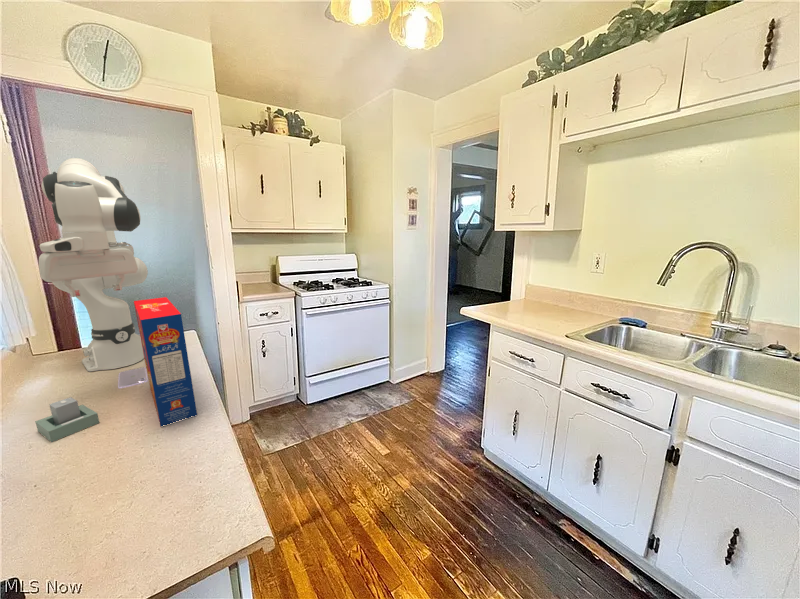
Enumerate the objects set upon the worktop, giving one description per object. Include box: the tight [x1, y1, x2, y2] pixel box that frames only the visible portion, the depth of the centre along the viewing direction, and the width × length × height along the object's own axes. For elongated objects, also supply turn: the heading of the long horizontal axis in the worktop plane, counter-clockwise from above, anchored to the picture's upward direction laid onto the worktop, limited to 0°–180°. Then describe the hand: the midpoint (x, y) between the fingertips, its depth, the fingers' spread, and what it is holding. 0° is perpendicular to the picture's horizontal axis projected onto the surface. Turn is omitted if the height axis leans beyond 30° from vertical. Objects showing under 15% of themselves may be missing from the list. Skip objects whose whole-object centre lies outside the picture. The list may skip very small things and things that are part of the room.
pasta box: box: [133, 296, 198, 427], centre depth 94 cm, size 28×8×28 cm, turn 41°
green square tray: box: [35, 404, 100, 443], centre depth 84 cm, size 9×9×3 cm
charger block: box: [49, 396, 81, 426], centre depth 84 cm, size 4×4×6 cm
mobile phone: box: [117, 366, 149, 389], centre depth 112 cm, size 8×1×15 cm
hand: (97, 293), depth 94 cm, fingers open, 8 cm apart
